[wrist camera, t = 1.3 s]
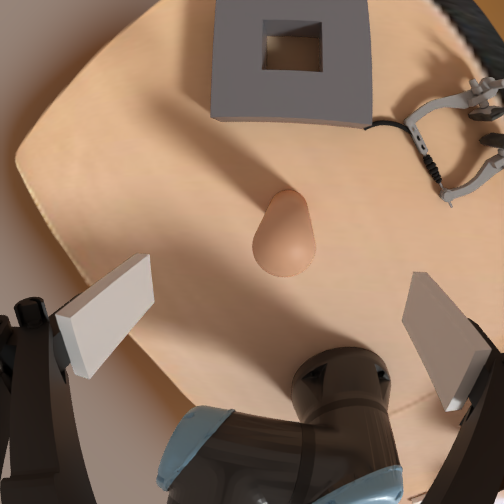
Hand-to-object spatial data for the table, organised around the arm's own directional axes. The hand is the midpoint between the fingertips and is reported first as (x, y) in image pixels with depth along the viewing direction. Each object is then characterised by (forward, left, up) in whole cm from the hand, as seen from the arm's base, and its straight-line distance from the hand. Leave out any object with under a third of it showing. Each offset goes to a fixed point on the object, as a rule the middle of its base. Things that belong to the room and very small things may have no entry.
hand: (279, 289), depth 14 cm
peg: (0, 0, -22) cm, 22 cm away
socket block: (+18, 0, -22) cm, 28 cm away
